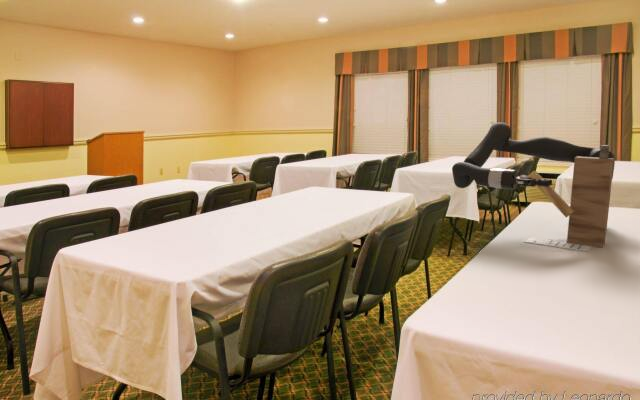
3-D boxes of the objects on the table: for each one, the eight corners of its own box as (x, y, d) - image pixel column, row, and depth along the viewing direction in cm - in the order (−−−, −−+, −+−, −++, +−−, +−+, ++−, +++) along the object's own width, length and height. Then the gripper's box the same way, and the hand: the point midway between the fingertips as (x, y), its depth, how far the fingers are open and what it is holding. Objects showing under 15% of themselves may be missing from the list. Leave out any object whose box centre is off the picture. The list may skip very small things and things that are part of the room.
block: (529, 175, 193) (535, 170, 191) (568, 216, 187) (574, 211, 185) (527, 176, 191) (533, 171, 189) (566, 217, 184) (572, 212, 183)
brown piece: (569, 239, 197) (578, 144, 191) (605, 244, 190) (615, 145, 184) (566, 242, 193) (575, 144, 186) (602, 247, 186) (613, 146, 179)
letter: (530, 238, 199) (530, 237, 199) (590, 247, 186) (591, 246, 186) (524, 242, 192) (524, 241, 192) (586, 251, 180) (586, 250, 180)
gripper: (508, 186, 204) (554, 191, 193) (496, 190, 193) (544, 195, 183) (509, 167, 202) (556, 171, 192) (497, 170, 192) (546, 174, 181)
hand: (550, 183), depth 187 cm, fingers closed on block, 2 cm apart
